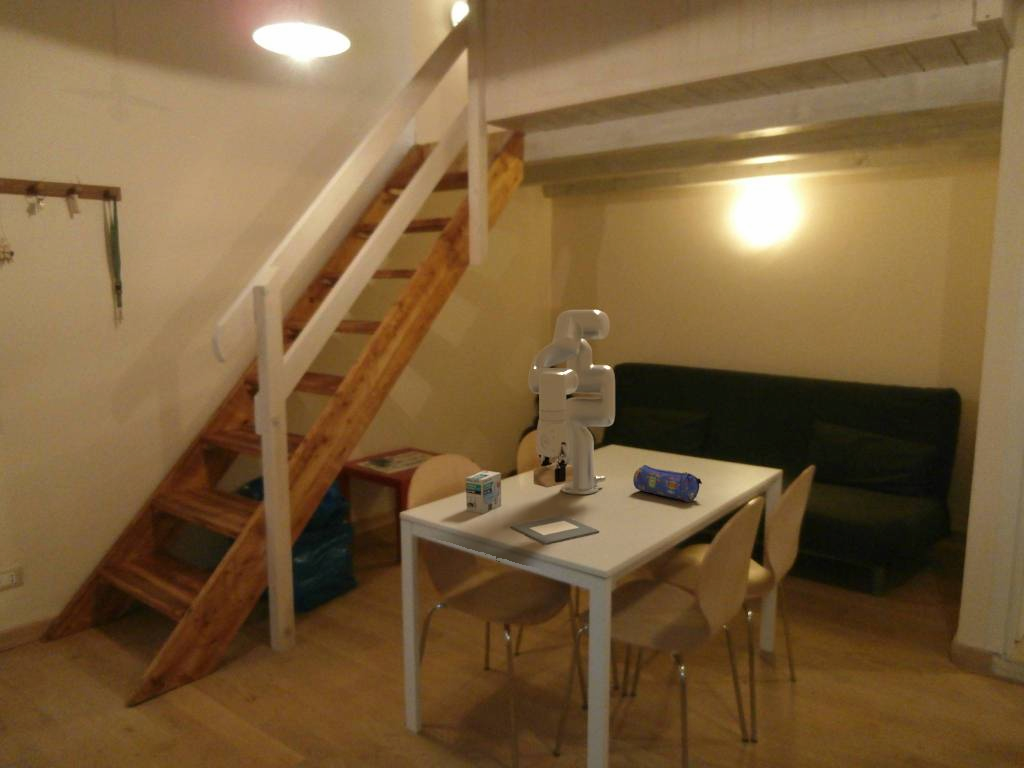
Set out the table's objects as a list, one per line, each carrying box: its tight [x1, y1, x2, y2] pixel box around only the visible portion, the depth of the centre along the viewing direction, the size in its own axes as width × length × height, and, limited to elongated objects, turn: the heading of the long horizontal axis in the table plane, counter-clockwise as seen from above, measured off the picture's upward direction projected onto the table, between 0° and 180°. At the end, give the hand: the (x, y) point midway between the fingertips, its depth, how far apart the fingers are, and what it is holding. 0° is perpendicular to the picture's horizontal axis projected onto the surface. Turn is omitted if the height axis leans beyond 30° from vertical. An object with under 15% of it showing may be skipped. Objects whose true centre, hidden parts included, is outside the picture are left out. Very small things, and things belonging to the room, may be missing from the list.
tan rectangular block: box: [532, 463, 573, 488], centre depth 208 cm, size 6×10×4 cm, turn 130°
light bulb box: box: [465, 470, 502, 514], centre depth 232 cm, size 11×7×11 cm, turn 149°
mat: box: [510, 514, 600, 545], centre depth 210 cm, size 18×18×1 cm
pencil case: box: [632, 464, 703, 503], centre depth 242 cm, size 22×9×10 cm, turn 43°
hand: (553, 478), depth 208 cm, fingers closed on tan rectangular block, 6 cm apart
